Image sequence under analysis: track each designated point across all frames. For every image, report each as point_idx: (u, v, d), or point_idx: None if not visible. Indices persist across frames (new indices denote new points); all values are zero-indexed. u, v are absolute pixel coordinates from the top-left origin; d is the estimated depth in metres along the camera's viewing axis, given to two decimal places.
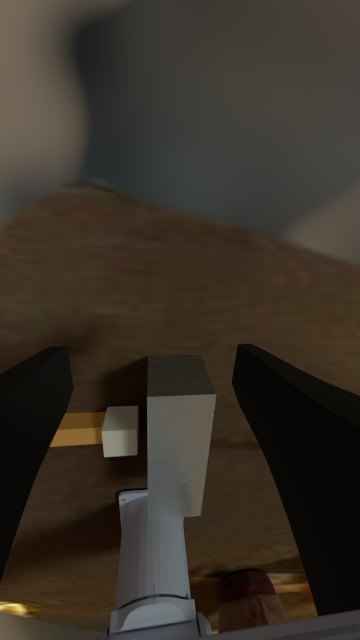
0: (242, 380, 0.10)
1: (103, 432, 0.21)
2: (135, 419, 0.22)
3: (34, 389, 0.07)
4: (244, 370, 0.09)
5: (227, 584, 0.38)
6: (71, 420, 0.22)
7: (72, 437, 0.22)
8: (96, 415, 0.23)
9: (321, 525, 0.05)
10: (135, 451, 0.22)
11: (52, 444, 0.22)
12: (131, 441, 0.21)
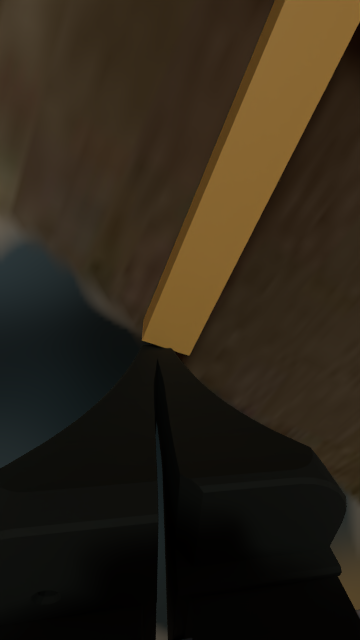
0: None
1: None
2: None
3: (155, 385, 0.07)
4: None
5: None
6: None
7: None
8: None
9: (168, 543, 0.05)
10: None
11: (319, 79, 0.06)
12: None
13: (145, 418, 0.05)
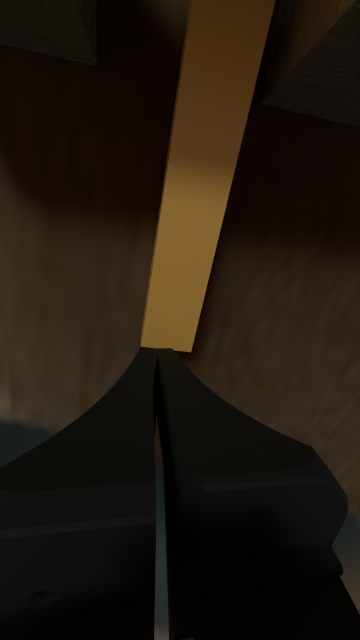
0: None
1: None
2: None
3: (155, 385, 0.07)
4: None
5: None
6: None
7: None
8: None
9: (169, 543, 0.05)
10: None
11: (256, 37, 0.06)
12: None
13: (144, 418, 0.05)
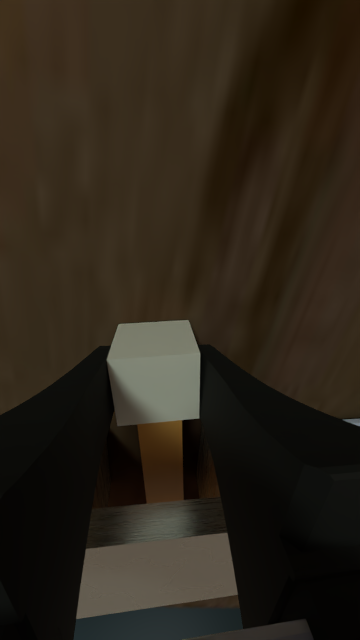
0: None
1: (120, 422, 0.09)
2: (112, 346, 0.09)
3: (99, 387, 0.07)
4: None
5: None
6: None
7: (162, 451, 0.11)
8: None
9: (244, 535, 0.05)
10: (187, 358, 0.08)
11: (177, 475, 0.12)
12: (149, 368, 0.08)
13: (55, 422, 0.05)
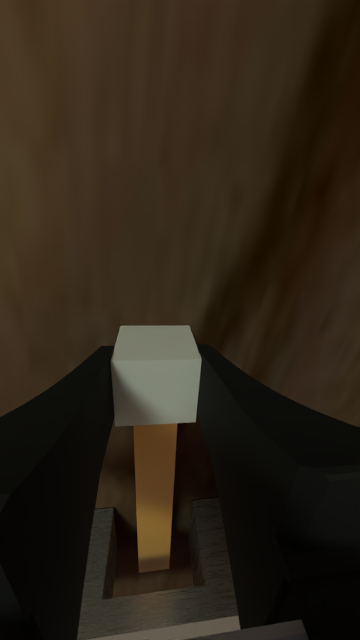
0: None
1: (119, 423, 0.09)
2: (115, 348, 0.09)
3: (101, 387, 0.07)
4: None
5: None
6: None
7: (155, 453, 0.11)
8: None
9: (241, 535, 0.05)
10: (188, 363, 0.09)
11: (169, 477, 0.12)
12: (152, 371, 0.08)
13: (59, 422, 0.05)
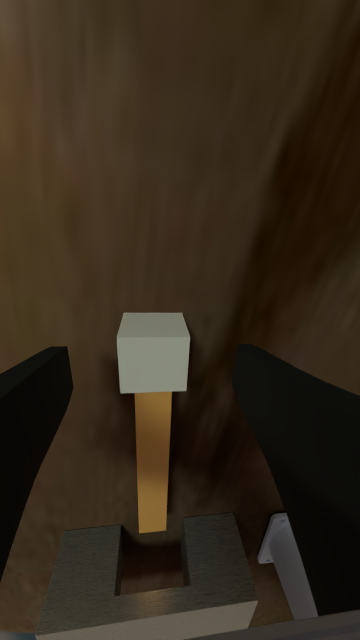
0: (242, 380, 0.10)
1: (123, 390, 0.11)
2: (120, 329, 0.11)
3: (34, 389, 0.07)
4: (244, 370, 0.09)
5: None
6: None
7: (153, 421, 0.13)
8: None
9: (321, 526, 0.05)
10: (179, 340, 0.11)
11: (165, 443, 0.14)
12: (150, 346, 0.10)
13: None
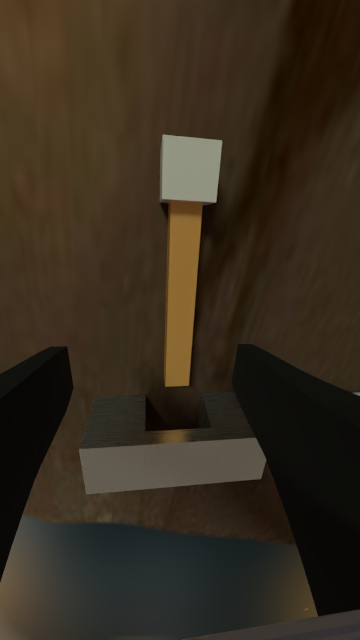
0: (242, 380, 0.10)
1: (164, 196, 0.13)
2: None
3: (34, 389, 0.07)
4: (244, 370, 0.09)
5: None
6: (168, 252, 0.17)
7: (184, 250, 0.16)
8: (168, 218, 0.16)
9: (320, 525, 0.05)
10: (213, 143, 0.13)
11: (193, 278, 0.16)
12: (189, 147, 0.13)
13: None
